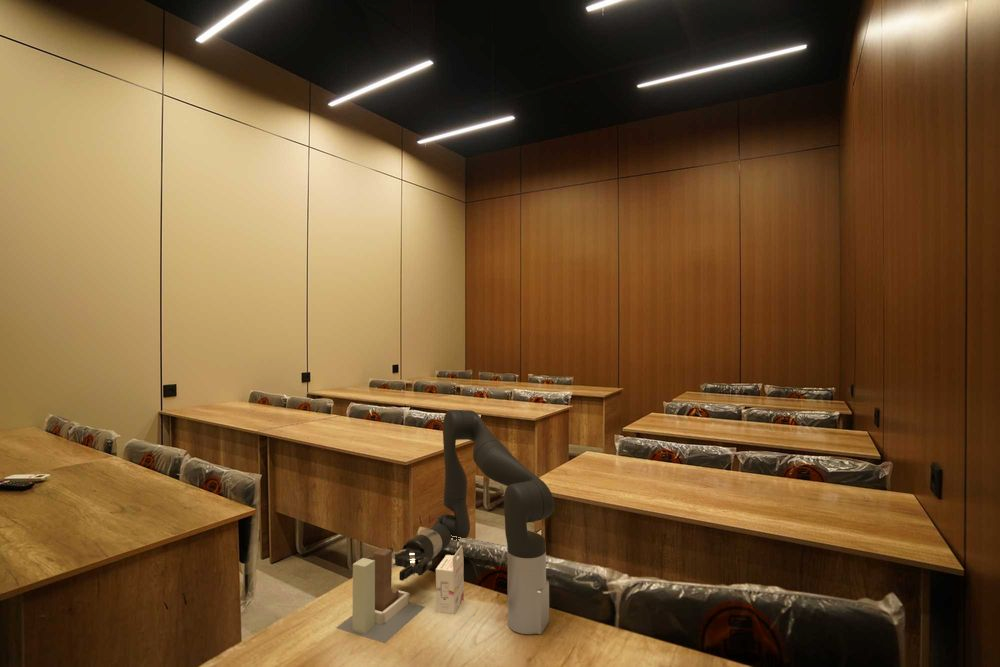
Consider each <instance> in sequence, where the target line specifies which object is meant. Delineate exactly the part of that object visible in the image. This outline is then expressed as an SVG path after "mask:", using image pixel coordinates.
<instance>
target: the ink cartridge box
mask: <svg viewBox="0 0 1000 667" xmlns="http://www.w3.org/2000/svg"><path fill="white" fill-rule="evenodd" d="M463 549H464V548H463V545H462V544H461V545H460V547H459V548H458V549H457V551H456V552H455V554H454V555H453V554H452V555H451V554H445V556H444V558H442V560H441V561H440V562H439V564H438V565H437V567H436V568H435V595H436V596H435V598H436V599H435V605H436V607H435V608H436V613H439V614H447V615H455V614H456V612H457V610H458V609H459V607H460V605H461V602H462V601H464V598H465V593H464V590H465V589H464V588H465V584H464V582H465V581H464V579H465V578H464V577H465V574H464V572H465V571H464V565H465V564H464V562H465V561H464V550H463Z"/></svg>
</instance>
